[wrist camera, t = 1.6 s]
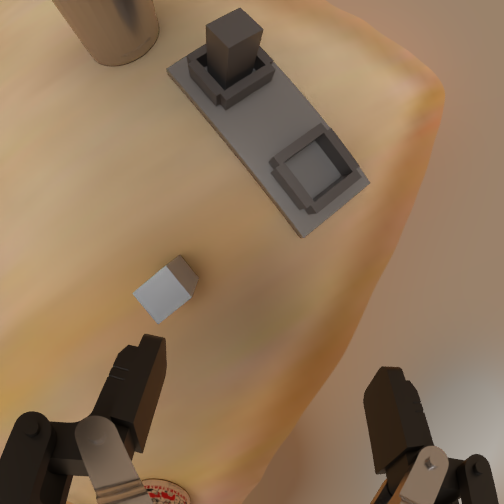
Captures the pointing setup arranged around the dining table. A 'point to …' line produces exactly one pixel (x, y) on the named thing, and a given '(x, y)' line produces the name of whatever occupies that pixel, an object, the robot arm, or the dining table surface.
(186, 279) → the plug
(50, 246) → the dining table surface
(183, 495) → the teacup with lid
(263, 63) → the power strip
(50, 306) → the dining table surface
